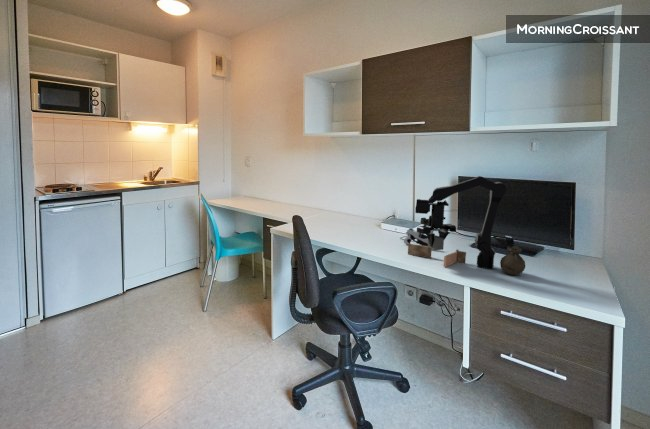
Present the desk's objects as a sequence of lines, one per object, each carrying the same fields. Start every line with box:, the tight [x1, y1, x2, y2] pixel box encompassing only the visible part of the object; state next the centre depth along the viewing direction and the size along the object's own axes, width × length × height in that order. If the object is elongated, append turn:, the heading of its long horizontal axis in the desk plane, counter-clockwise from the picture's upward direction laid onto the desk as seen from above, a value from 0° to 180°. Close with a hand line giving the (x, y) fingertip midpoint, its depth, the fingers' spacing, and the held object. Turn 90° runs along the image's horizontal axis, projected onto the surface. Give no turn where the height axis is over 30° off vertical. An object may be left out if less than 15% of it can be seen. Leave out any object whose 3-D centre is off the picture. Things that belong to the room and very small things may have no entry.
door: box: [443, 251, 458, 268], centre depth 162 cm, size 11×1×5 cm, turn 134°
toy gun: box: [403, 228, 428, 246], centre depth 192 cm, size 2×17×10 cm, turn 51°
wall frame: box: [407, 243, 467, 264], centre depth 172 cm, size 28×2×6 cm, turn 59°
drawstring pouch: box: [499, 245, 526, 276], centre depth 150 cm, size 10×10×12 cm
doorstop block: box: [428, 234, 445, 251], centre depth 166 cm, size 6×4×6 cm
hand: (435, 246), depth 166 cm, fingers closed on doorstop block, 4 cm apart
